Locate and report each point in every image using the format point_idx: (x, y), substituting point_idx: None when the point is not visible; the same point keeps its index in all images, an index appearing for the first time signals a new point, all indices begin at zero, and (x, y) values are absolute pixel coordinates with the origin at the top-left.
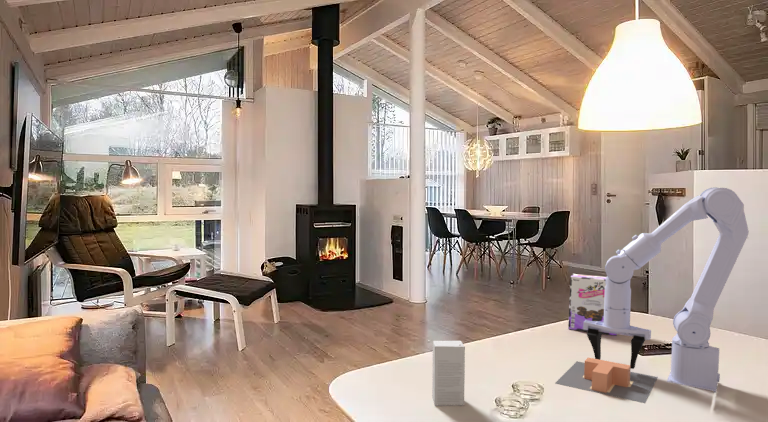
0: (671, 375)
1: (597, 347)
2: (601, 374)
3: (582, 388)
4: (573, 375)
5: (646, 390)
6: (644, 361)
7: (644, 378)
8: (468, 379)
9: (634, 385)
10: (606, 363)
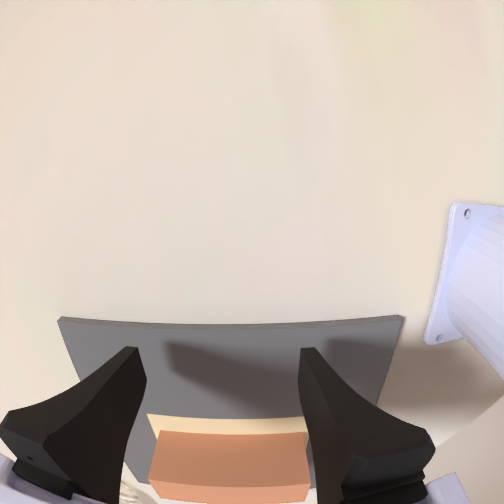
0: (452, 312)
1: (125, 446)
2: None
3: None
4: (135, 444)
5: None
6: (321, 57)
7: (351, 369)
8: None
9: None
10: (227, 498)
